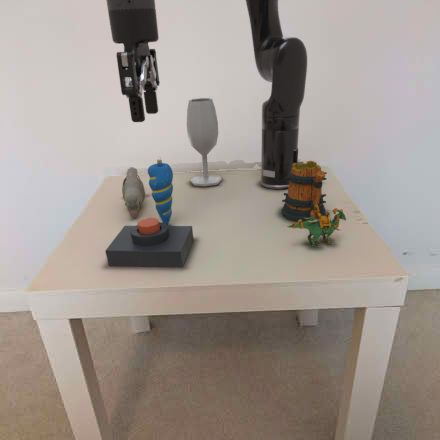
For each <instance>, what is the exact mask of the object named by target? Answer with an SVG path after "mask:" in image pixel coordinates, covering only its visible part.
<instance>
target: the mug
mask: <svg viewBox="0 0 440 440" xmlns="http://www.w3.org/2000/svg"><path fill="white" fill-rule="evenodd" d="M286 173H287V174H289V175H288V177H285V178H284V179H287V180H290V182H289V188H287V192H284V193H283V195H284V196H285V198H284V199H282V200H281V202H282V203H284V204H283V206H282V208H281V216H282V218H284V219H286V220H288V221H292V222H295V223H299V222H298V221H299V220H302V222H305V221H308V220H310V219H305V218H310V217H315V216H316V215H315V214H314V212H313V211H315V209H314V205H315V204H316V205H318V207H319V213H320V214H321V216H326V212H327V211H326V208H325V204H326V203H327V201H326V200H324V198H325V197H327V194H325V193H323V191H322V189H323V188H322V187H323V181H327V177H326V175H327V173H328V172H326V171H324V170H322V166H320V165H319V164H317V162H316V161H314V160H308V161H306V162H303V163H302V164H298V163H293V164H292V169H291V172H286ZM316 210H317V208H316Z"/></svg>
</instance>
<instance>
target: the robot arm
mask: <svg viewBox="0 0 440 440" xmlns="http://www.w3.org/2000/svg"><path fill="white" fill-rule="evenodd" d="M105 1H106V6H107V7H106V8H107V13H108V19H109V20H108V21H109V27H110V32H111V38H112V42H113V43H114V44H116V45H117V44H119V45H120V44H123V51H116V62H117V69H118V78H119V84H120V91H121V94H122V96H125V97H126V99H128V104H129V110H130V118H131V121H132V122H133V123H144V122H145V121H146V114H148V115H156V114H158V113H159V105H158V97H157V96H158V95H157V90H158V87H159V86H160V76H159V68H158V60H157V59H158V58H157V51H156V48H150V46H149V43H156V42H158V41H159V28H158V19H157V9H156V0H105ZM245 5H246V9H247V13H248V19H249V24H250V31H251V39H252V48H253V54H254V63H255V67H256V70H257V72H258V74H259V76H260V78H261V79H263V80H264V81H266V82H269V83H271V88H270V89H271V90H270V96H269V98H268V99H266V100H265V101H263V102H262V105H261V153H260V154H261V155H260V156H261V159H260V160H261V162H260V163H261V165H260V167H261V168H260V169H261V171H260V172H261V173H260V185H261V186H262V187H264V188H267V189H271V190H272V189H273V190H282V189H288V188H289V182H290V180H287V179H284V178H285V177H288V175H289V174H287V173H286V172H291V169H292V164H293V163H298V164H302V163H304V161H298V160H299V133H300V132H299V131H300V114H301V107H302V104H303V102H304V99H305V92H306V83H307V82H306V81H307V73H308V51H307V48H306V46H305V44H304V42H303V41H302V39H300V38H298V37H296V36H284V34H283V30H282V26H281V20H280V14H279V13H280V11H279V0H245ZM145 112H146V114H145Z"/></svg>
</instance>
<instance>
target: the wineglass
mask: <svg viewBox="0 0 440 440" xmlns="http://www.w3.org/2000/svg"><path fill="white" fill-rule="evenodd" d="M213 100H214V99H213V98H210V97H197V98H196V97H195V98H191V99H188V103H187V109H186V133H187V138H188V141H189V144H190V146H191V147H192V148H193V149H195V151H196V152H197V153H199V154H200V155H201V161H202V162H201V163H202V174H199V175H195V176H194V177H192V178H191V179H190V183H191V184H192V185H193V187H211V186H217V185H219V184H220V183H221V182H222V177H221V176H220V175H218V174H209V166H208V154H209V153H210V152H212V150H213V149H214V148H215V147H216V146H217V143H218V138H219V122H218V117H217V115H218V114H217V110H216V107H215V103H214V101H213Z"/></svg>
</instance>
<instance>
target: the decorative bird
mask: <svg viewBox="0 0 440 440" xmlns="http://www.w3.org/2000/svg"><path fill="white" fill-rule="evenodd" d="M121 190H122V191H121V193H122V197H123V202H124V203H125V206H126V208H127V210H128V213H129V214H130V215H131V217H133V218H134V219H136V218H137V216H138V214H139V211H140V208H141V205H142V204H143V203H144V201H145V198H146V191H145V186H144V183H143V181H142V179H141V177H140V176H139V175H138V169H137V168H136V167H133V166H131V167H129V168H128V169H127V171H126V175H125V178H123V181H122V185H121Z"/></svg>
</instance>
